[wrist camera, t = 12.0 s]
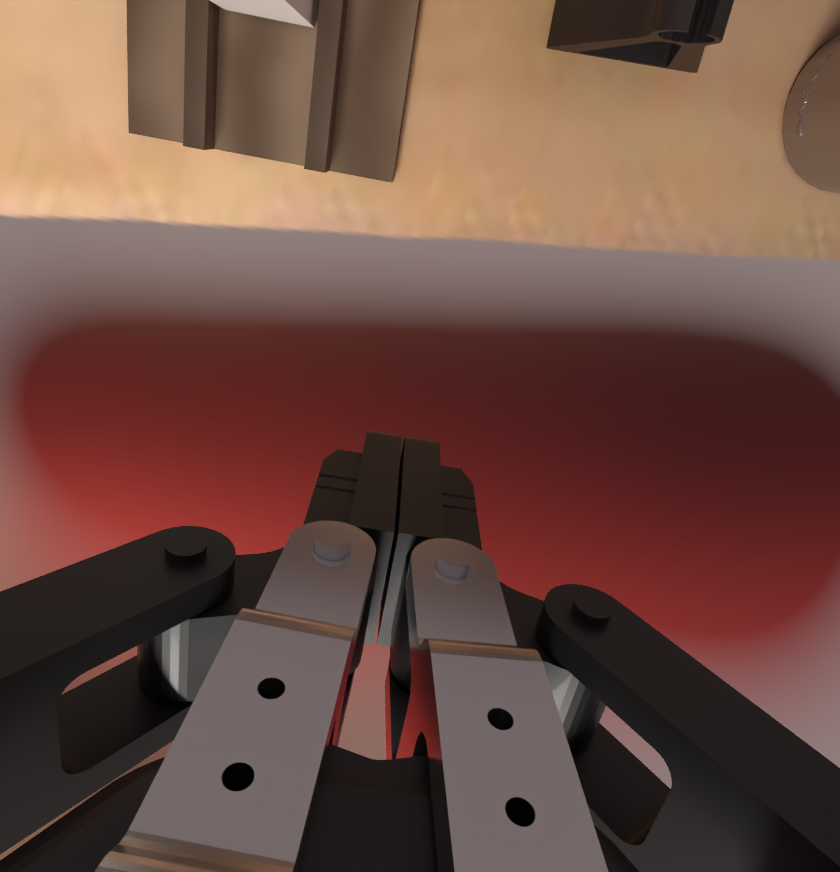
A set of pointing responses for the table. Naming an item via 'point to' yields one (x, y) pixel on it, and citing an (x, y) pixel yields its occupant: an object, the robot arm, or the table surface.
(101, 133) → the table surface
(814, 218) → the table surface
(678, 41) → the phone stand
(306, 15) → the cream block
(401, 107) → the ridged brown base plate
